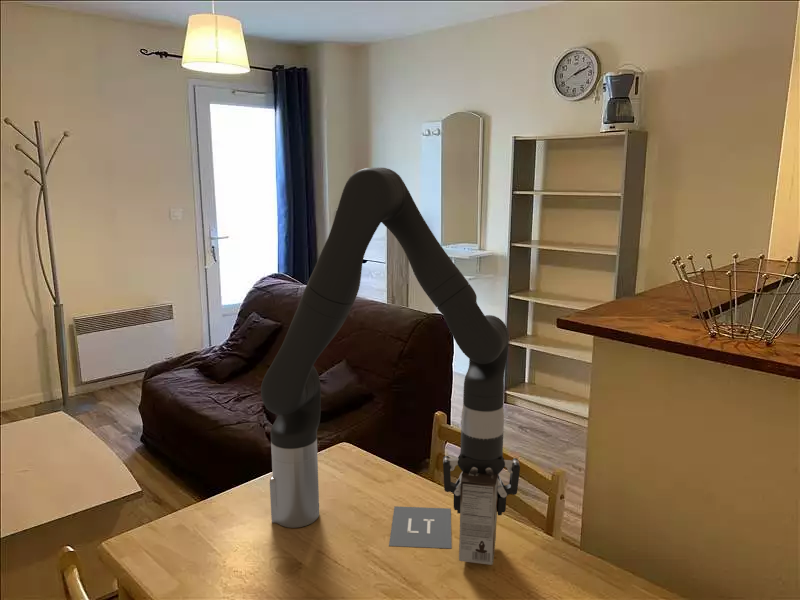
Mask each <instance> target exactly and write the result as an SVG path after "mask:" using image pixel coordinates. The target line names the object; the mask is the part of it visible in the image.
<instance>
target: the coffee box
mask: <svg viewBox="0 0 800 600" xmlns="http://www.w3.org/2000/svg"><path fill="white" fill-rule="evenodd" d="M497 487H498V474H496V476H495V475H492V476H488V475H487V473H476V475H470V474H467V473H464V472H463V474H462V478H461V499H460V513H459V514H460V515H459V544H458V547H459V548H458V550H459V551H458V561H460V562H466V563H474V564H482V565H489V566H493V565H494V557H495V551H496V550H495V549H496V539H497V523H498V521H497V519H498V513H497V499H498V491H497V490H498V488H497Z"/></svg>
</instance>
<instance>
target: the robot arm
mask: <svg viewBox="0 0 800 600" xmlns="http://www.w3.org/2000/svg"><path fill="white" fill-rule="evenodd" d="M412 196H413V195H411V193H410V191H409V189H408V188H407V184H405V181H404V180H403V178H402V177H401V175H400V174H399V173H397V172H396V171H395V170H393V169H391V168H388V167H387V168H386V167H365V168H362V169H359V170H357V171H356V172H353V174H352V175H350V176H349V178H348V179H347V181H346V182H345V185H344V187H343V189H342V192H341V196H340V199H339V203H338V207H337V210H336V213H335V215H334V219H333V223H332V226H331V229H330V231H329V234H328V236H327V239H326V242H325V243H324V245H323V247H322V249H321V252H320V254H319V256H318V258H317V262H316V263H315V265H314V268H313V271H312V272H311V274H310V277H309V279H308V281H307V284H306V286H305V288H304V289H303V293H302V295H301V298H300V300H299V304H298V306H297V309H296V310H295V313H294V315H293V318H292V320H291V323H290V325H289V327H288V330H287V332H286V335H285V337H284V340H283V342H282V345H281V346H280V348H279V350H278V352H277V354H276V355H275V357H274V359H273V361H272V363H271V365H270V366H269V368H268V369H267V370H266V373H265V374H264V377H263V379H262V382H261V386H260V396H261V400H262V403H263V405H264V407H265V408H266V409H267V410H268V411H269V412H270V413H272V414H275V415H277V417H276V418H275V420H274V422H273V424H272V426H271V428H270V449H271V451H270V452H271V469H272V470H271V471H272V473H271V474H272V475H271V477H270V478H269V492H270V498H269V499H270V516H271V517H270V518H271V520H270V521H271V523H274V524H277V525H280V526H282V527H285V528H301V527H306V526H308V525H311V524H313V523H314V522H315V521H317V519H318V518H319V516H320V494H319V493H320V491H319V466H318V465H319V464H318V461H319V460H318V459H319V457H318V429H319V426H320V423H321V412H322V411H321V410H322V408H321V406H322V405H321V404H322V403H321V402H322V400H321V399H322V398H321V397H322V387H321V379H320V375H319V373H318V371H317V369H316V367H315V366H314V365H315V363H316V361H318V360H317V359H319V357H320V356H321V354H322V353H323V352H324V350H325V349H326V348H327V346H328V345H329V344H330V343H331V341H332V340H333V339H334V338H335V336H336V335H338V334H337V333H338V332H339V331H340V330H341V328H342V326H343V325H344V323H345V322H346V320H347V318H348V316H349V314H350V311H351V310H352V307H353V305H354V302H355V301H356V299H357V295H358V293H359V290H360V287H361V279H362V270H363V261H364V257H365V255H366V251H367V249H368V247H369V245H370V243H371V241H372V239H373V237H374V235H375V233H376V231H377V229H378V228H379V226H380V225H381V224H383V226H385V227H386V228H387V229H388V231H389V232H390V233H391V234H392V235H393V236H394V237H395V239H396V240H397V242H398V243H399V244H400V245H399V246H401V248H402V250H403V252H404V253H405V255H406V258H407V260H408V262H409V264H410V268H411V269H412V272H413V274H414V277H415V278H416V280H417V282H418V283H419V285H420V287H421V289H422V290H423V291H424V293H425V295H427V297H428V298H429V299H430V301H431V302H432V304H433V305H434V306H435V308H437V310H438V311H439V313H441V315H442V317H443V318H444V320H445V323H446V325H447V328H448V329H449V331H450V333H451V335H452V337H453V339H454V340H455V342H456V344H457V346H458V348H459V349H460V350H461V352H462V353H463V354H464V355H465V356H466V357H467V359H469V362H468V364H469V365H468V368H467V371H466V374H465V377H464V380H463V381H464V382H463V397H462V398H463V399H462V401H463V403H462V410H461V420H460V426H461V427H460V450H459V451H460V452H459V455H458V457H452V458H451V457H450V456H449V455H445V456H443V457H442V468H443V469H442V471H443V489H444V490H443V491H444V492H446V493H449V492H450V493H452V494H453V509H454V511H457V512H456V514H460V499H461V478H462V474H463V472H464V473H467V474H470V475H476V473H487V475H488V476H492V475H495V476H496V474H498V487H497V488H498V490H497V491H498V499H497V516H503V513H505V512H506V509H507V496H509V495H512V496H515V495H517V493H518V488H519V481H520V479H519V478H520V473H521V472H520V471H521V466H520V465H521V464H520V461H519V459H518V458H516V457H513V459H511V460H510V459H505V458H504V457H503V450H504V430H505V428H504V427H505V425H504V424H505V413H504V398H505V397H504V396H505V395H504V393H505V385H504V380H505V370H506V366H507V359H508V352H509V344H510V340H509V335H510V334H509V330H508V327H507V325H506V324H505V322H504V321H503V320H502V319H501V318H499V317H498V316H496V315H491V314H487V315H485V314H484V312H483V311H482V309H481V308H480V307H479V305H478V303H477V299H478V298H477V294H476V291H475V290H474V288H473V286H472V285H471V284H470V282H469V281H468V280H467V279H466V277H465V276H464V274H462V272H461V270H460V269H459V268H458V267H457V266H456V265H455V263H454V262H453V260H452V259H451V257H450V256H449V255H448V254H447V252H446V251H445V249H444V248H443V246H442V245H441V243H440V242H439V241H438V239H437V237H436V236H435V235H434V233H433V231H432V230H431V229H430V226H429V225H428V224H427V222H426V220H425V219H424V216H423V215H422V214H421V212H420V210H419V208H418V206H417V204H416V202H415V201H414V199H413V197H412ZM457 466H458V468H459V469H460V470H461V472H460V474H459V477H458V478H457V479H456V482H452V479H451V472H452V471H453V472H454V470H455V468H456V467H457ZM505 468H506V469H507V472H508V473H509V475H510V476H509V480H508V481H509V483H508V484H505V483H504V481H503V479H501V476H500V473H501V472H502V471H503V470H504V469H505Z"/></svg>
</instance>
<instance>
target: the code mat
mask: <svg viewBox="0 0 800 600" xmlns="http://www.w3.org/2000/svg"><path fill="white" fill-rule="evenodd" d="M452 545H453V544H452V510H451V508H449V507H446V508H443V507H441V508H440V507H419V506H417V507H416V506H413V507H412V506H398V505H397V506H394V507H393V515H392V523H391V530H390V536H389V542H388V547H396V548H397V547H401V548H419V549H420V548H423V549H424V548H425V549H446V550H447V549H448V550H451V549H452Z"/></svg>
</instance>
